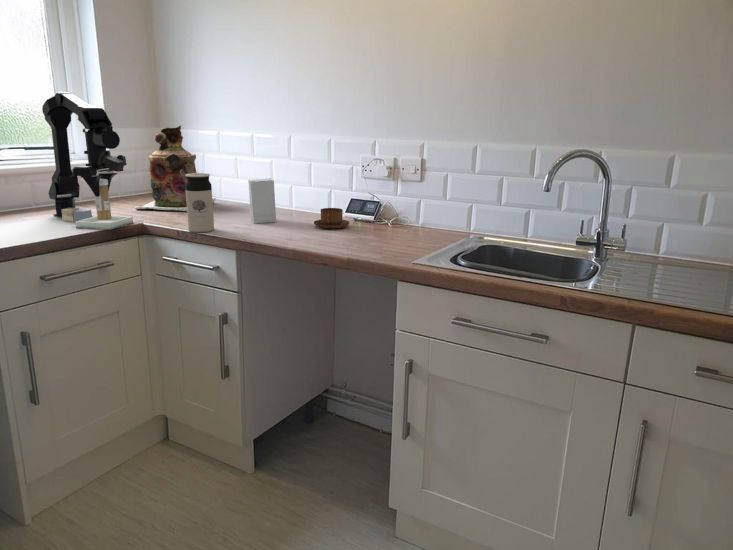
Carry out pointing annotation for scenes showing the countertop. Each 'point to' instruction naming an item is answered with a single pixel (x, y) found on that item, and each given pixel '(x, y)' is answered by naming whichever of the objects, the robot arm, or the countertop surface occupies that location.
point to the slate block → (82, 214)
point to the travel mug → (199, 202)
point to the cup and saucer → (331, 219)
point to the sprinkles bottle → (103, 201)
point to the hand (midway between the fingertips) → (101, 195)
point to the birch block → (68, 214)
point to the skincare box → (262, 200)
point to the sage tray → (104, 222)
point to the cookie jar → (170, 171)
